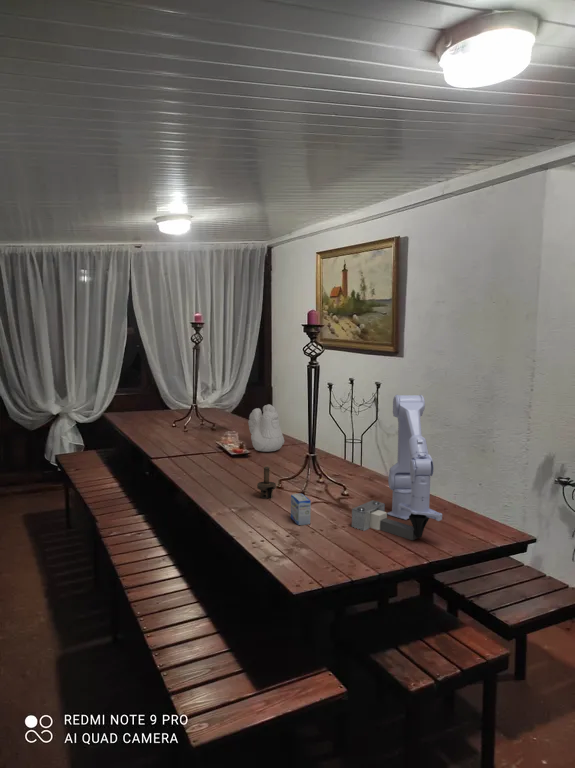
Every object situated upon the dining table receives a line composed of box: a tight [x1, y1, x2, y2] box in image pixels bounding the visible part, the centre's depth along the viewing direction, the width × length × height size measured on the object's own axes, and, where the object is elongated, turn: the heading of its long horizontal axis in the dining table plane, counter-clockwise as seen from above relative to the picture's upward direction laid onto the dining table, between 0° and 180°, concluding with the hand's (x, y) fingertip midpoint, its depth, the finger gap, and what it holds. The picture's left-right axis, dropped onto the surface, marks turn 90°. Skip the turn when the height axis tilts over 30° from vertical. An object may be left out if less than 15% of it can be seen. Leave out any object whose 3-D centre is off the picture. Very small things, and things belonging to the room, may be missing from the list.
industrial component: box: [256, 466, 277, 500], centre depth 219 cm, size 9×7×12 cm
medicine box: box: [290, 493, 312, 526], centre depth 193 cm, size 8×4×9 cm, turn 21°
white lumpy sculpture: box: [247, 403, 285, 453], centre depth 294 cm, size 25×16×25 cm, turn 25°
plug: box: [369, 509, 418, 541], centre depth 185 cm, size 4×17×5 cm, turn 46°
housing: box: [351, 500, 386, 532], centre depth 191 cm, size 12×5×7 cm, turn 137°
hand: (418, 536), depth 178 cm, fingers closed
